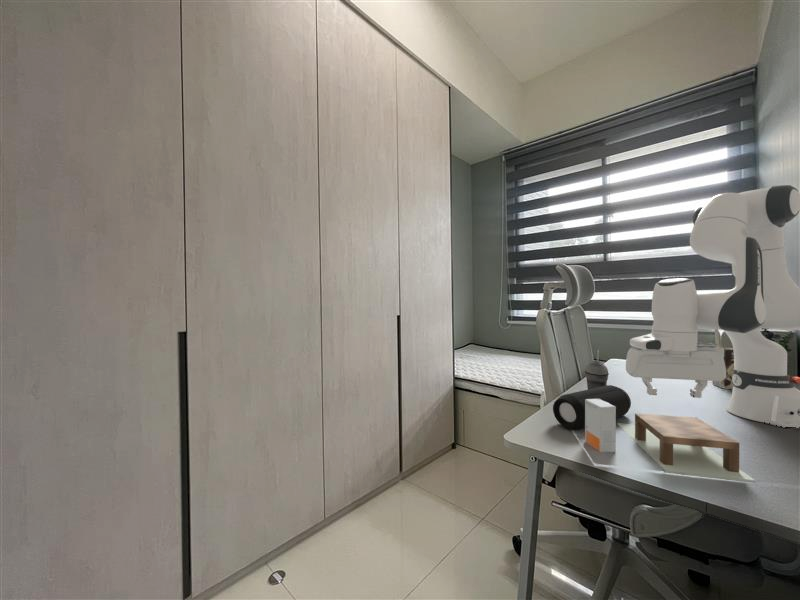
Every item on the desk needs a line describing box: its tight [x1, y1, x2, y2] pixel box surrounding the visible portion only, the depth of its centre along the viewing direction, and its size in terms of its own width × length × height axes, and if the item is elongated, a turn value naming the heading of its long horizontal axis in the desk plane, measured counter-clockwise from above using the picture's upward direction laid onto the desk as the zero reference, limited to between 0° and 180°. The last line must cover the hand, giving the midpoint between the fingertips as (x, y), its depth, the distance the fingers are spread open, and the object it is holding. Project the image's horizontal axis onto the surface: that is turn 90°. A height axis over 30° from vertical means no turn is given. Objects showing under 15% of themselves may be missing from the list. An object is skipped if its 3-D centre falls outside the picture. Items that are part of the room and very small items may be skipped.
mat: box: [616, 422, 756, 483], centre depth 80 cm, size 16×26×1 cm, turn 165°
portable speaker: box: [552, 384, 632, 430], centre depth 97 cm, size 26×10×10 cm, turn 115°
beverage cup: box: [584, 349, 610, 390], centre depth 111 cm, size 7×7×20 cm
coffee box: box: [711, 347, 734, 390], centre depth 129 cm, size 9×6×16 cm
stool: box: [634, 412, 740, 472], centre depth 77 cm, size 14×7×14 cm
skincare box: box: [584, 399, 617, 453], centre depth 81 cm, size 6×4×12 cm
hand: (673, 395), depth 80 cm, fingers open, 8 cm apart
